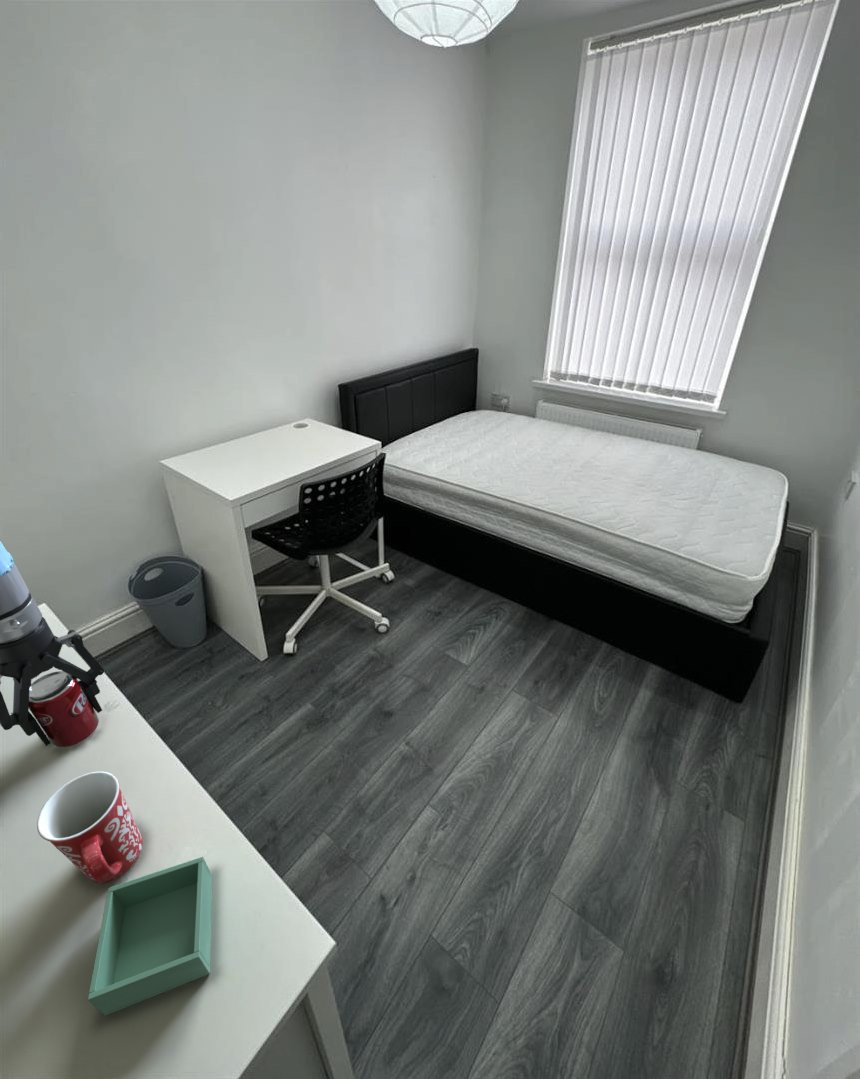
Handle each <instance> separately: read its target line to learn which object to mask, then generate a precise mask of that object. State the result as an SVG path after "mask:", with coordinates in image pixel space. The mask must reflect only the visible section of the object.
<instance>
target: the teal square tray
mask: <svg viewBox="0 0 860 1079" xmlns="http://www.w3.org/2000/svg"><path fill="white" fill-rule="evenodd" d="M212 909H213V874H212V872H211V870H210V868H209V865H208V864H207V862H206V859H205V858H204V856H200V857H197V858H194V859H192V860H188V861H185V862H182V863H180V864H176V865H173V866H170V867H168V868H164V869H161V870H158V871H155V872H152V873H150V874H145V875H143V876H141V877H138V878H135V879H131V880H128V881H125V882H122V883H119V884H116V885H114V886H113V885H112V886H111V887H108V888H107V894H106V897H105V905H104V909H103V914H102V920H101V926H100V931H99V936H98V943H97V947H96V953H95V958H94V962H93V969H92V975H91V980H90V985H89V991H88V996H87V1001H88V1002H89V1003H90V1004H91V1005H93V1006H94V1007H95V1008H96V1009H97V1010H98V1011H99V1012H101V1013H102V1014H103V1015H104V1016H108V1015H110V1014H114V1013H115V1012H118V1011H120V1010H123V1009H125V1008H129V1007H131V1006H133V1005H136V1004H138V1003H141V1002H143V1001H145V1000H148V999H152V998H153V997H156V996H158V995H160V994H163V993H166V992H169V991H171V990H174V989H175V988H178V987H181V986H183V985H186V984H188V983H191V982H193V981H196V980H198V979H201V978H204V977H206V976H209V975H210V974H211V951H212V950H211V949H212V948H211V946H212Z"/></svg>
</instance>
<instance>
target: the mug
mask: <svg viewBox="0 0 860 1079" xmlns="http://www.w3.org/2000/svg"><path fill="white" fill-rule="evenodd" d="M120 786H121V785H120V782H119V780H118V777H116V776H115V775H114V774H112V773H111V772H108V771H92V772H87V773H84V774H82V775H79V776H76V777H75V778H73V779H71V780H69V781H68V782H66V783H64V784H63V785H61V786H60V787H59V788H58V789H57V790H56V791H54V792H53V794H52V795H51V796H50V797H49V798H48V799H47V800H46V802H45V803H44V804H43V806H42V808H41V809H40V811H39V814H38V816H37V821H36V829H37V832H38V835H39V836H40V838H42V839H43V840H45V841H47V842H49V843H51V845H53V846H54V847H55V848H56V849H57V850H58V851H59V852H60V853H61V854H62V855H63V856H64V857H66V858H67V860H69V861H70V862H71V863H72V864H73V865H74V866H75V867H76V868H77V869H78V870H79V871H80V872H82V874H83V875H84V876H85V877H87V879H89V880H90V881H92V882H94V883H99V884H102V883H107V882H111V881H114V880H115V879H117V878H119V877H121V876H122V875H124V874H125V873H126V872H127V871H128V870H129V869H130V868H131V867H132V866H133V865H134V864H135V863H136V861H137V860H138V858H139V856H140V855H141V851H142V849H143V842H144V841H143V836H142V834H141V832H140V829H139V827H138V825H137V823H136V821H135V819H134V816H133V814H132V811H131V810H130V807H129V806H128V803H127V801H126V798H125V796H124V794H123V792H122V789H121V787H120Z"/></svg>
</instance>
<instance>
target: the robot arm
mask: <svg viewBox="0 0 860 1079" xmlns="http://www.w3.org/2000/svg"><path fill="white" fill-rule="evenodd" d="M83 640H84V639H83V636H82V635H81V634H79V632H77V631H76V630H75V629H70V630H68V631H67V634H65V635H62V636H60V637H58V636H57V635H54V633H53V631H52V629H51V627H50V626H49V624H48V622H47V620H46V618H45V617H44V616H43V613H42V611H41V610H40V608H39V606H38V604H37V602H36V601H35V599H34V598H33V596H32V594H31V592H30V590H29V587H27V584H26V582H25V580H24V579H23V576H22V574H21V573H20V571H19V569H18V567H17V565H16V563H15V561H14V558H13V556H12V554H11V553H10V552H9V551H8V550H7V549H6V547H5V546H4V544H3V543H2V541H1V540H0V685H1V684H2V681H1V678H2V677H6V678H12V679H13V680H12V681H13V701H12V702H13V703H12V712H11V713H10V712H9V709H8V706H7V704H6V701H5V699H4V696H3V693H2V691H1V690H0V726H1V727H2V729H3V730H4V731H9V730H11V729H12V728H13V727H15V726H20V728H21V730H22V731H23V732H24V733H25V735H26V736H28V737H30V736H32V735H34V734H36V735H37V736H38V738H39V739H40V740H41V742H42V743H43V745H44V746H45V747H47V746H49V745H51V744H52V743H51V741H50V740H49V738H48V737H47V735H46V734H45V732H44V731H43V729H42V728H41V726H40V725H39V723H38V722H37V720H36V719H35V717H34V716H33V714H32V713H31V711H30V709H29V690H30V687H31V684H32V680H33V679H35V678H37V677H38V676H39V675H41V674H42V673H44V672H45V673H46V672H47V671H50V670H51V669H53V668H54V669H57V670H58V671H64V672H66V673H68V674H70V675H71V676H73V677H75V678H77V680H78V682H79V683H80V685H81V687H82V689H83V691H84V693H85V694H86V696H87V698H88V700H89V702H90V703H91V705H92V707H93V709H94V711H95V712H96V713H97V714H99V713H101V712H102V711H103V709H102V706H101V705H100V702H99V701H98V699H97V697H96V696H97V695H98V694H100V693H101V689H100V688H99V686H98V681H97V680H96V679H97V678H98V677H99V676H102V675H104V673H105V669H104V668H103V667H102V666H101V664H100V663H99V662H98V660H96V659H95V658H94V656H93V655H92V654H91V653H90V651H89V650H88V649H87V647H86V646H84V641H83ZM64 645H65V646H66V647H68V648H72V649H73V650H74V651H75V653H76V654H77V655H78V656H79V657H80V658H81V659H82V660H83V662H84V663H85V664H86V665H87V666H88V667H89V669H88V670H85V669H83V668H81V667H80V666H78V665H76V664H73V663H72V662H71V661H68V660H66V659H64V658H63V657H61V656H60V653H61V651H62V647H63V646H64Z"/></svg>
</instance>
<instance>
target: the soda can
mask: <svg viewBox="0 0 860 1079" xmlns="http://www.w3.org/2000/svg"><path fill="white" fill-rule="evenodd" d="M78 681H79V679H77V678H75V677H73V676H71V675H70V674H68V673H66V672H64V671H62V670H58V671H52V672H49V673H46V674H44V675H42V676H40V677H39V678H37V679H35V680H34V681H33V682H31V687H30V690H29V712H30V713H31V714H32V716H33V717H34V718H35V719H36V721H37V722H38V724H39V725H40V727H41V728H42V730H43V731H44V733H45V734H46V736H47V737H48V739H49V740H50V742H51V744H52V745H53V746H54V747H58V748H70V747H71V748H72V747H75V746H77V745H79V744H81V743H84V741H86V740H87V739H89V738H90V737H91V736H92V735H93V734H94V733H95V731H96V730H97V728H98V726H99V720H100V719H99V717H98V715H97V714H98V713H97V711H96V710H95V709H94V708H93V707H92V705H91V703H90V702H89V700H88V698H87V696H86V694H85V693H84V691H83V689H82V687H81V685H80V683H79V682H78Z"/></svg>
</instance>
